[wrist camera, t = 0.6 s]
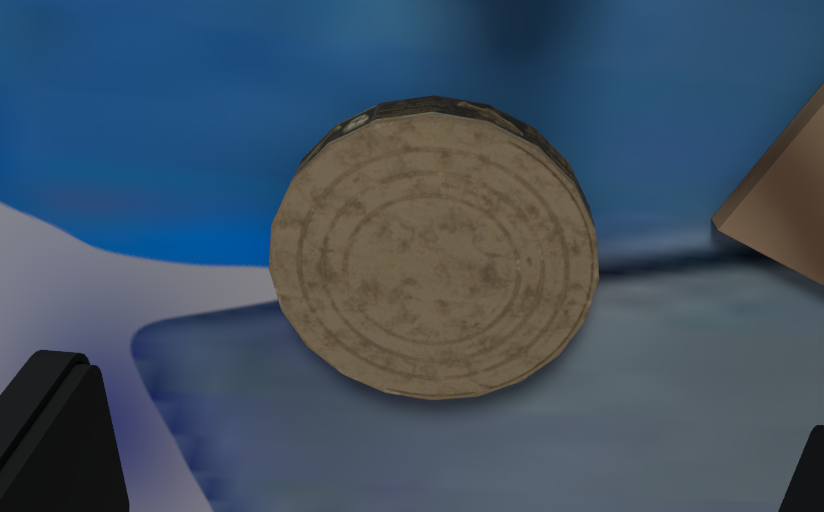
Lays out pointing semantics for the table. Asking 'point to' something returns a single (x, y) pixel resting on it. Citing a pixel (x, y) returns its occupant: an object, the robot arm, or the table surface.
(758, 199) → the stud board
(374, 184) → the wood slice
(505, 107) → the table surface
